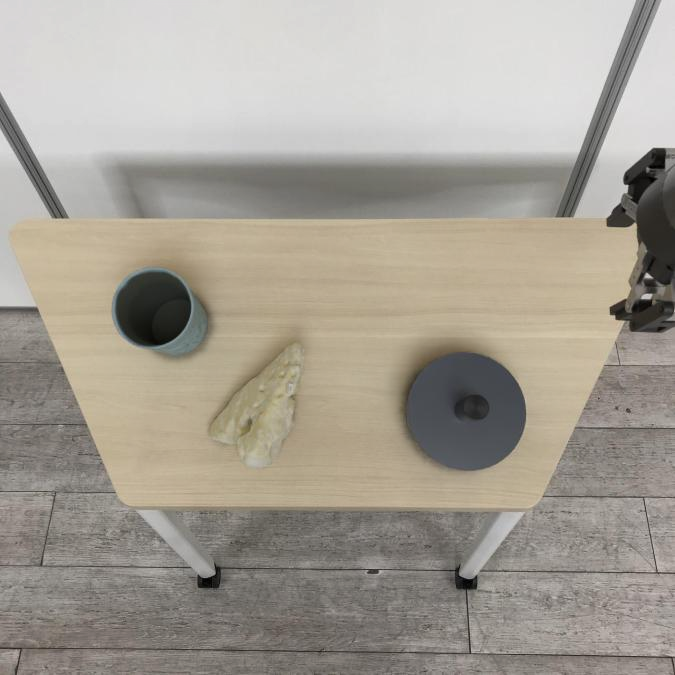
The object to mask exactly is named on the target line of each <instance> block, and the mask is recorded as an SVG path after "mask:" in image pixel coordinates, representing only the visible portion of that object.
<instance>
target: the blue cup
mask: <svg viewBox="0 0 675 675" xmlns="http://www.w3.org/2000/svg"><path fill="white" fill-rule="evenodd" d="M110 312H111V318H112V319H111V320H112V321H113V324H114V327H115V329H116V331H117V333H118V334H119V335H120V336H121V337H122V339H124V340H125V341H126V342H127V343H129V344H131V345H132V346H134V347H137V348H139V349H144V350H150V351H155V352H158V353H164V354H167V355H172V356H180V355H185V354H188V353H190V352H191V351H194V350H196V348H198V347H199V346H200V345H201V343H202V342H203V341H204V339H205V338H206V335H207V333H208V329H209V328H208V327H209V320H208V316H207V313H206V310H205V308H204V307H203V306H202V304H201V303H200V301H199V300H198V298H197V297H196V296H195V295H194V293H193V291H192V289H191V288H190V286H189V284H188V283H187V282H186V281H185V280H184V279H183V277H181V276H180V275H179V274H178V273H176V272H175V271H173V270H170V269H168V268H165V267H160V266H148V267H144V268H141V269H137V270H135V271H134V272H132V273H131V274H129V275H128V276H126V277H125V278H124V279H123V280H122V281H121V282H120V284H119V285H118V286H117V288H116V290H115V292H114V295H113V297H112V301H111V310H110Z"/></svg>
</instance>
